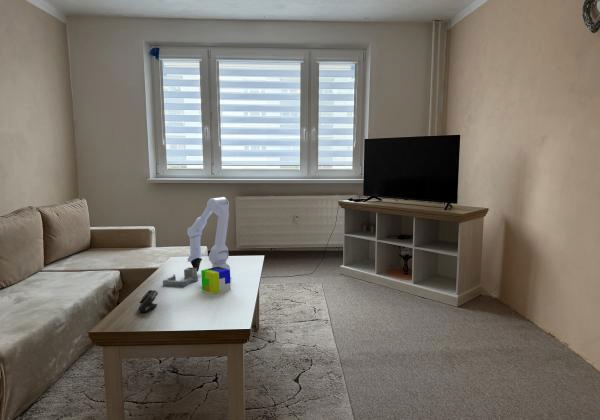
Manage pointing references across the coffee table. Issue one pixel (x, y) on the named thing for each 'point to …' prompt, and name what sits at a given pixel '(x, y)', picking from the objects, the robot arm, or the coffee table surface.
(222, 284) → the puzzle toy
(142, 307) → the black angular device
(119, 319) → the coffee table surface
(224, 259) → the robot arm
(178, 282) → the chassis bay
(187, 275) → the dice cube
